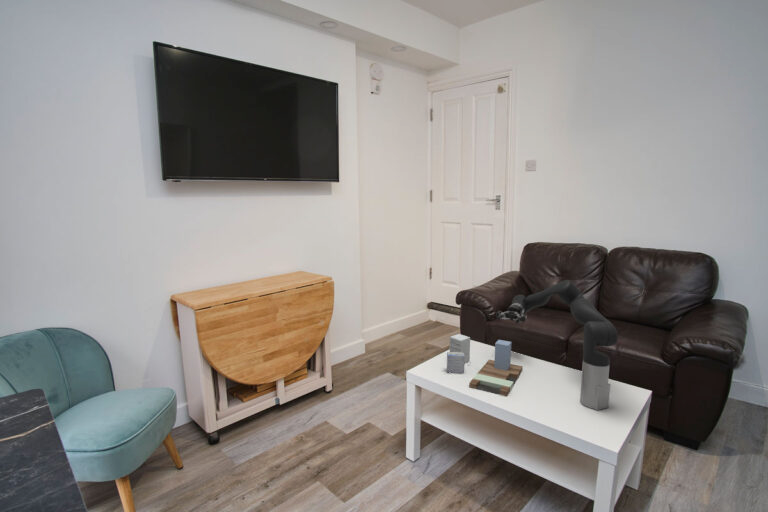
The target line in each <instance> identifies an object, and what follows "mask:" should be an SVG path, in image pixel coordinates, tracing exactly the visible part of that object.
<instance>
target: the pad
mask: <svg viewBox="0 0 768 512" xmlns="http://www.w3.org/2000/svg"><path fill="white" fill-rule="evenodd" d="M472 379H477V380H480V384H483V385H487V386H491V387H496V388H500V389H501V388H502V386H503V385H504V386H508V387H510V392H511V390H512V388H514V385H513V381H509V380H504V379H500V378H495V377H491V376H486V375H482V374H477V373H476V374H475V376H474V377H473V378H472Z"/></svg>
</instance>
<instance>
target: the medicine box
mask: <svg viewBox="0 0 768 512" xmlns="http://www.w3.org/2000/svg"><path fill="white" fill-rule="evenodd" d="M464 360H465V356H464V353H461V352H450V351H447V352H446V373H447V372H450V373H451V374H465V363H464Z"/></svg>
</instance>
